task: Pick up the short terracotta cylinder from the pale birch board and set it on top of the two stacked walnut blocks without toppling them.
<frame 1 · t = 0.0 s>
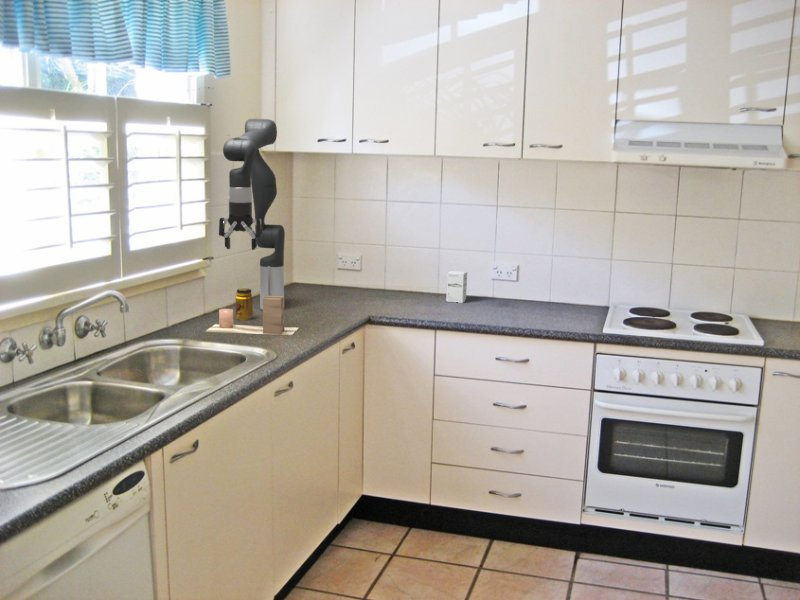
hand: (240, 249, 283), 29 cm above the table, tool pointing down, fingers open, 8 cm apart
walnut block bottom: (273, 332, 289), point 1 cm above the table, touching birch board, walnut block top
supplement box: (456, 301, 358), on the table
condiment: (246, 321, 310), on the table
terracotta cylinder: (226, 326, 295), point 1 cm above the table, touching birch board
walnut block top: (273, 314, 287), point 7 cm above the table, touching walnut block bottom
birch board: (252, 332, 292), on the table
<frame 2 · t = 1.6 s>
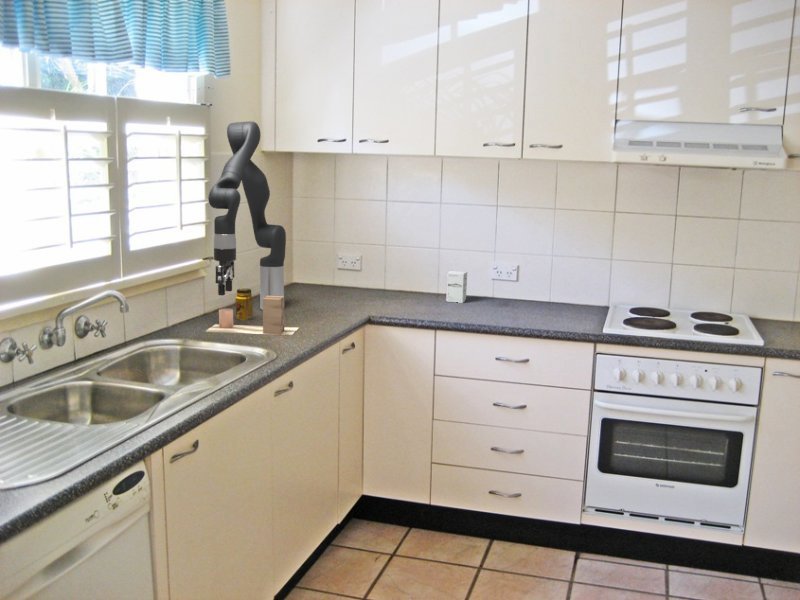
hand: (225, 293, 293), 13 cm above the table, tool pointing down, fingers open, 8 cm apart
nothing on the table moved.
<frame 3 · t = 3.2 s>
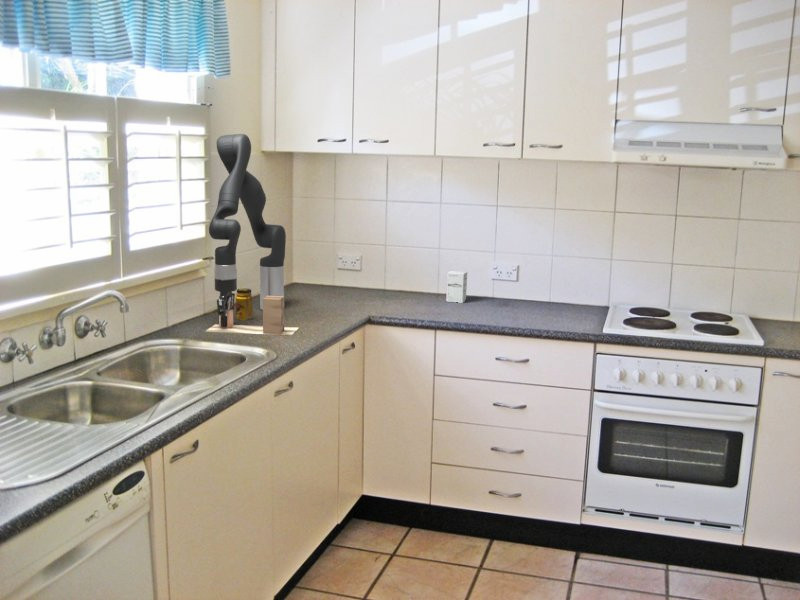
hand: (226, 324, 295), 2 cm above the table, tool pointing down, fingers closed on terracotta cylinder, 4 cm apart
terracotta cylinder: (226, 326, 295), point 1 cm above the table, touching birch board, gripper
everything else where it was.
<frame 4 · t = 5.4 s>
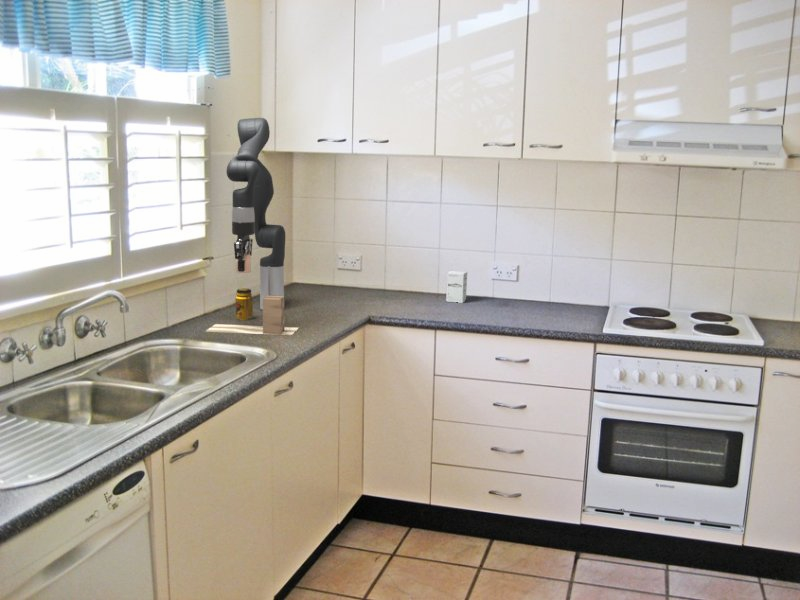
hand: (243, 270, 288), 22 cm above the table, tool pointing down, fingers closed on terracotta cylinder, 4 cm apart
terracotta cylinder: (243, 272, 288), point 21 cm above the table, touching gripper
everything else where it was.
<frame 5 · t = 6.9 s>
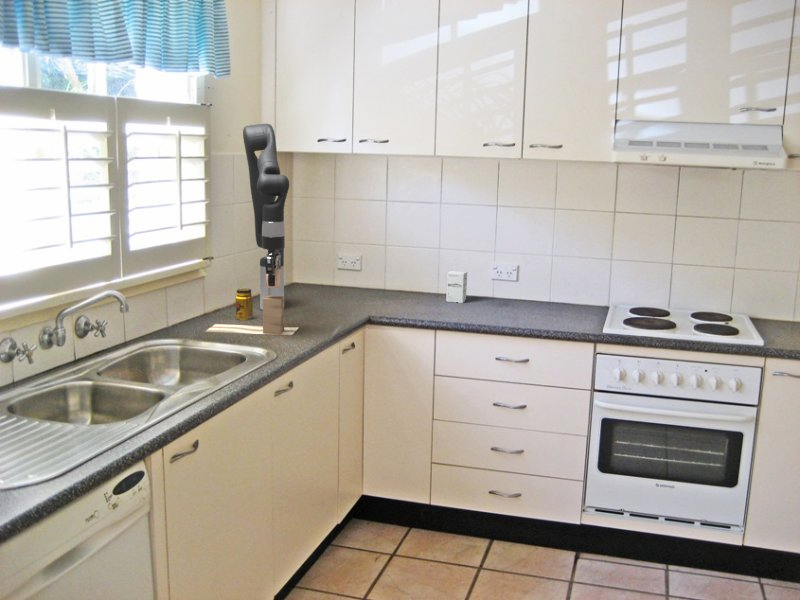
hand: (273, 284, 285), 17 cm above the table, tool pointing down, fingers closed on terracotta cylinder, 4 cm apart
terracotta cylinder: (273, 286, 286), point 17 cm above the table, touching gripper
everything else where it was.
when the fingers open (15 cm above the table, at t = 8.0 s): terracotta cylinder stays where it is, resting on walnut block top.
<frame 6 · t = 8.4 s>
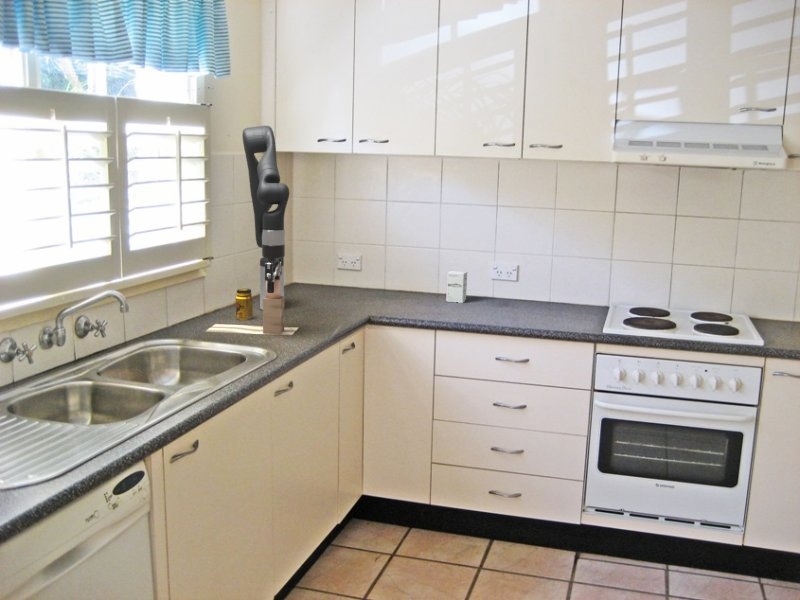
hand: (273, 290, 286), 15 cm above the table, tool pointing down, fingers open, 8 cm apart
terracotta cylinder: (273, 297, 286), point 13 cm above the table, touching walnut block top
walnut block top: (273, 314, 287), point 7 cm above the table, touching terracotta cylinder, walnut block bottom
everything else where it was.
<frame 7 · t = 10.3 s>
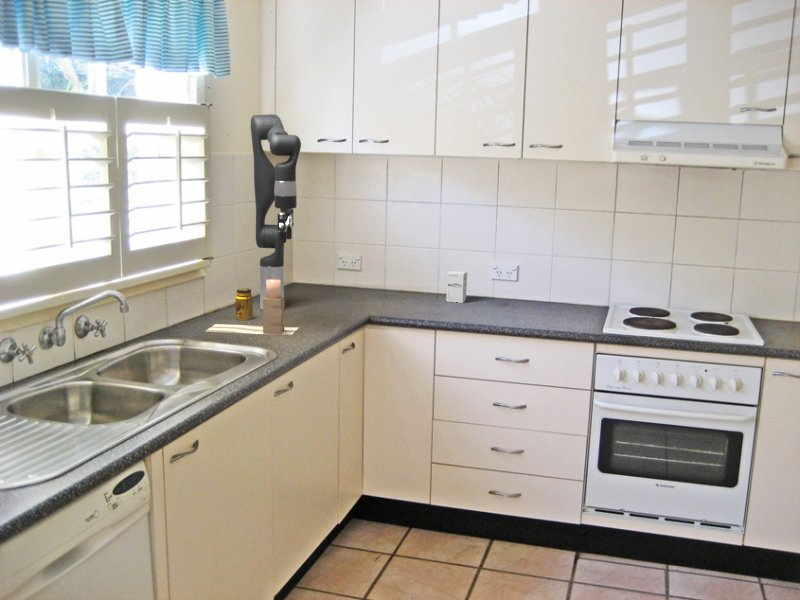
hand: (285, 240, 292), 31 cm above the table, tool pointing down, fingers open, 8 cm apart
nothing on the table moved.
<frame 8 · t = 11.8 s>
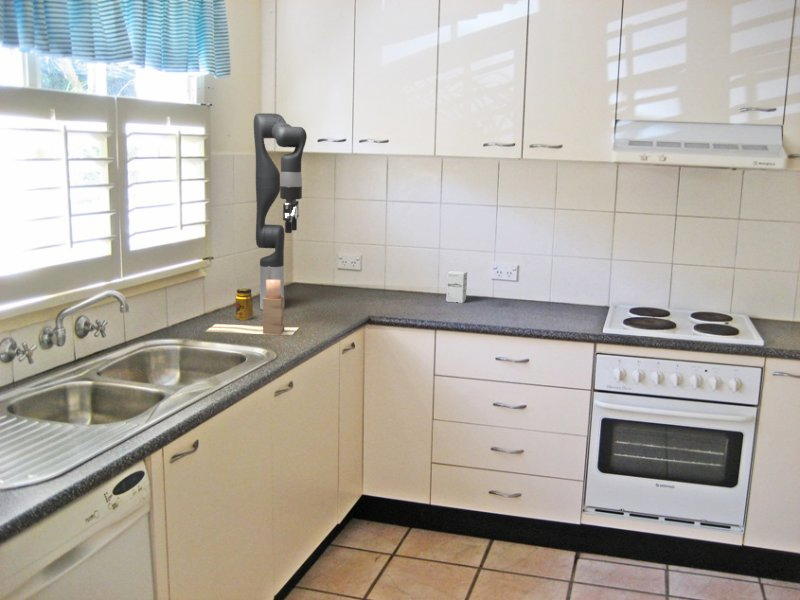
hand: (291, 231, 296), 34 cm above the table, tool pointing down, fingers open, 8 cm apart
nothing on the table moved.
at the end: terracotta cylinder 0.1 cm off-centre on the walnut block top, point 6.0 cm above the walnut block top's base; terracotta cylinder tilted 0°; walnut block top point 7.0 cm above the table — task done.
